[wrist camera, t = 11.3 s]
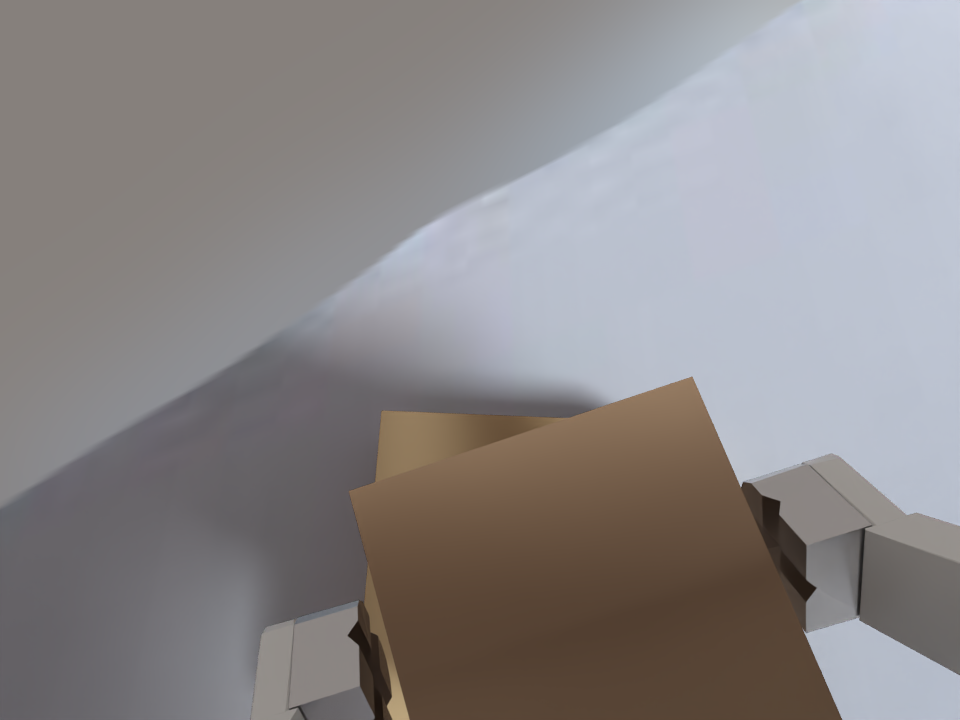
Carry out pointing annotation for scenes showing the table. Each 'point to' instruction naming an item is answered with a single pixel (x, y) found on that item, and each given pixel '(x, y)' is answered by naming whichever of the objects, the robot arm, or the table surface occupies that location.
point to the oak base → (416, 445)
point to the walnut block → (587, 577)
